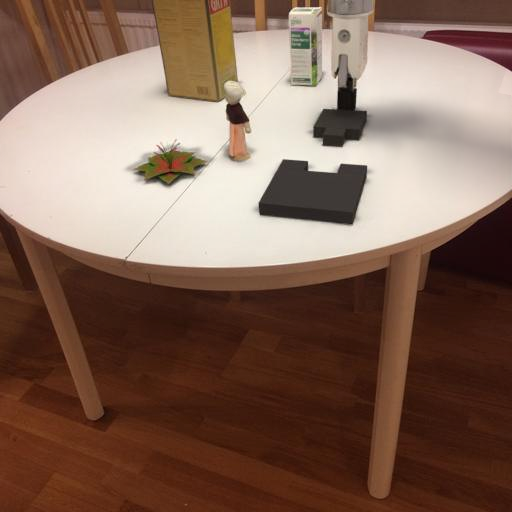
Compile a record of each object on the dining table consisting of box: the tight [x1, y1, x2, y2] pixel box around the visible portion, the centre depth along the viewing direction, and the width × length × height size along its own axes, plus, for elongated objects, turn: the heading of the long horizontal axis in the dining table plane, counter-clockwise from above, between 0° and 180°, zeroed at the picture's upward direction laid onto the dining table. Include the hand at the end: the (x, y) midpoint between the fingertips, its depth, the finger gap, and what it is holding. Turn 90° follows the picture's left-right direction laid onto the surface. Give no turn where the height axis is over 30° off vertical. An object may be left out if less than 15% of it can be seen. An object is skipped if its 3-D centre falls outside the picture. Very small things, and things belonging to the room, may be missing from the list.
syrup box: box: [288, 6, 323, 87], centre depth 109 cm, size 6×6×14 cm
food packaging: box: [151, 0, 239, 103], centre depth 106 cm, size 13×9×25 cm
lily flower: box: [131, 138, 210, 185], centre depth 85 cm, size 12×12×5 cm
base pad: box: [257, 158, 368, 225], centre depth 76 cm, size 13×13×2 cm
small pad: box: [312, 108, 368, 148], centre depth 91 cm, size 8×11×2 cm
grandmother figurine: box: [224, 81, 252, 162], centre depth 84 cm, size 8×4×13 cm, turn 40°
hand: (346, 110), depth 96 cm, fingers closed
